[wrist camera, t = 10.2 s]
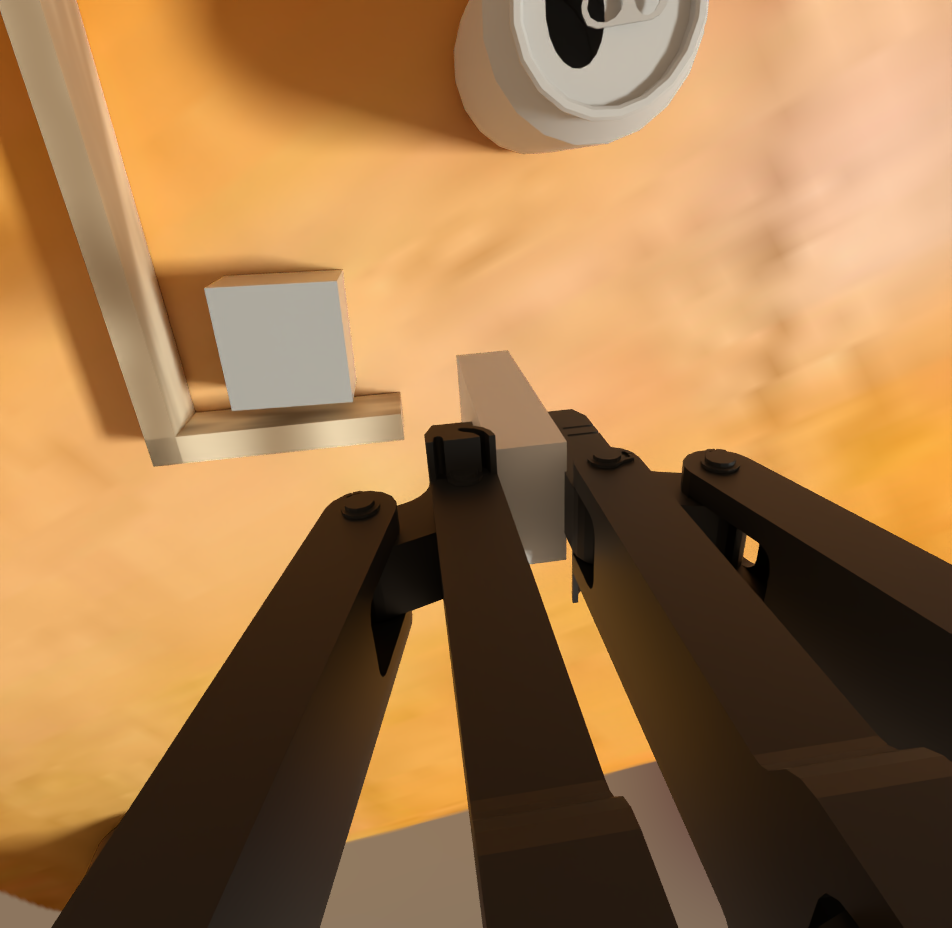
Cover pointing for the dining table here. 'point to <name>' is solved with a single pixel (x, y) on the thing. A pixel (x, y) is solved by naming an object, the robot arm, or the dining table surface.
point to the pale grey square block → (283, 338)
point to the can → (572, 67)
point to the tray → (149, 266)
